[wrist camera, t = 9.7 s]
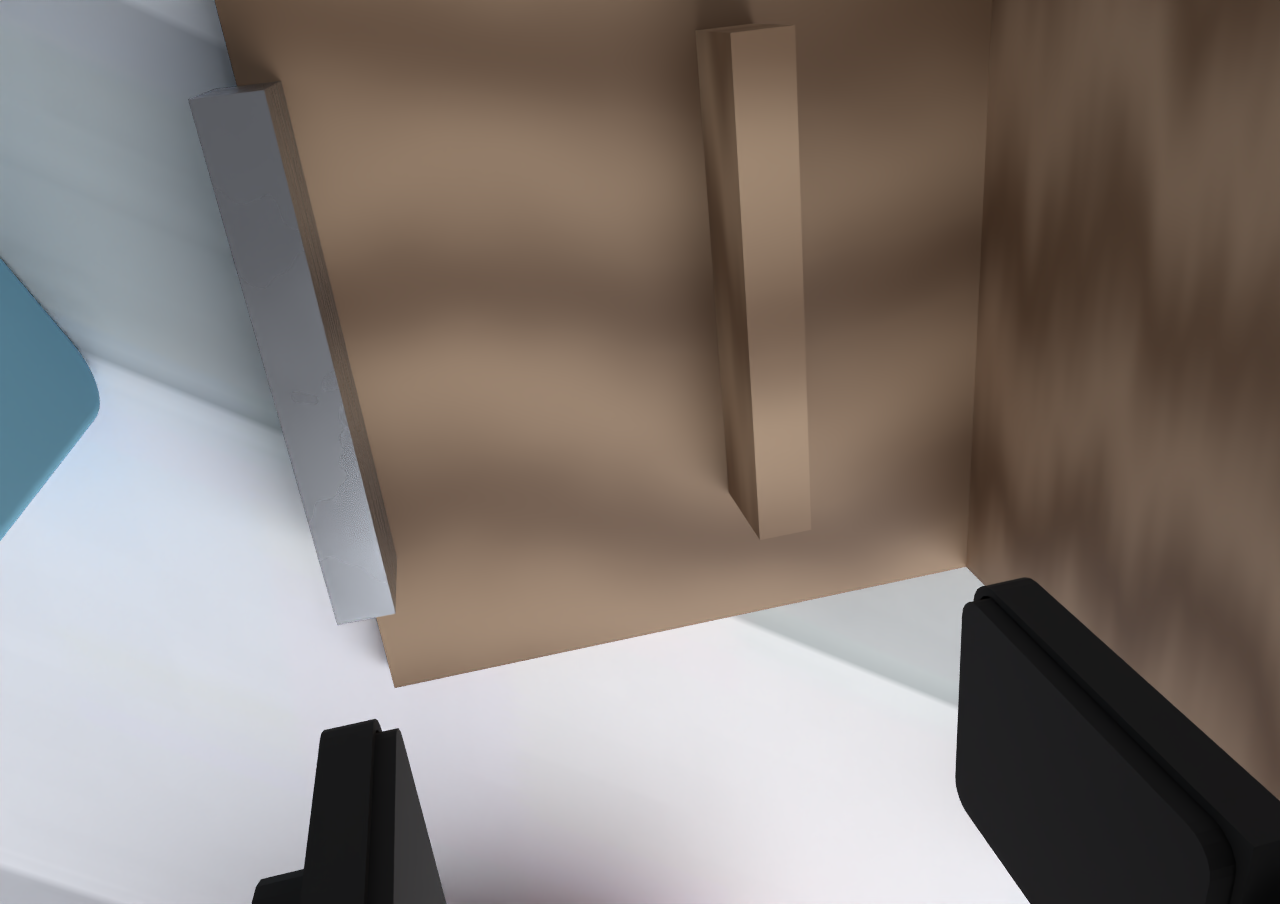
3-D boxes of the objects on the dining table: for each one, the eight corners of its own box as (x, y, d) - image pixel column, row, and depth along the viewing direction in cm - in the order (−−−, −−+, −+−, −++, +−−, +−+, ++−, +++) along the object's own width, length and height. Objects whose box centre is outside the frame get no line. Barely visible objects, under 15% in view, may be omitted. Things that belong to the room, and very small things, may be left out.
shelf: (187, -132, 22) (-173, -362, 8) (1054, -210, 25) (1807, -469, 11) (395, 668, 31) (382, 1165, 18) (1004, 540, 34) (1386, 882, 21)
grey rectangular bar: (214, 88, 23) (188, 99, 20) (281, 80, 23) (263, 89, 20) (344, 567, 28) (337, 625, 26) (397, 557, 28) (395, 613, 26)
